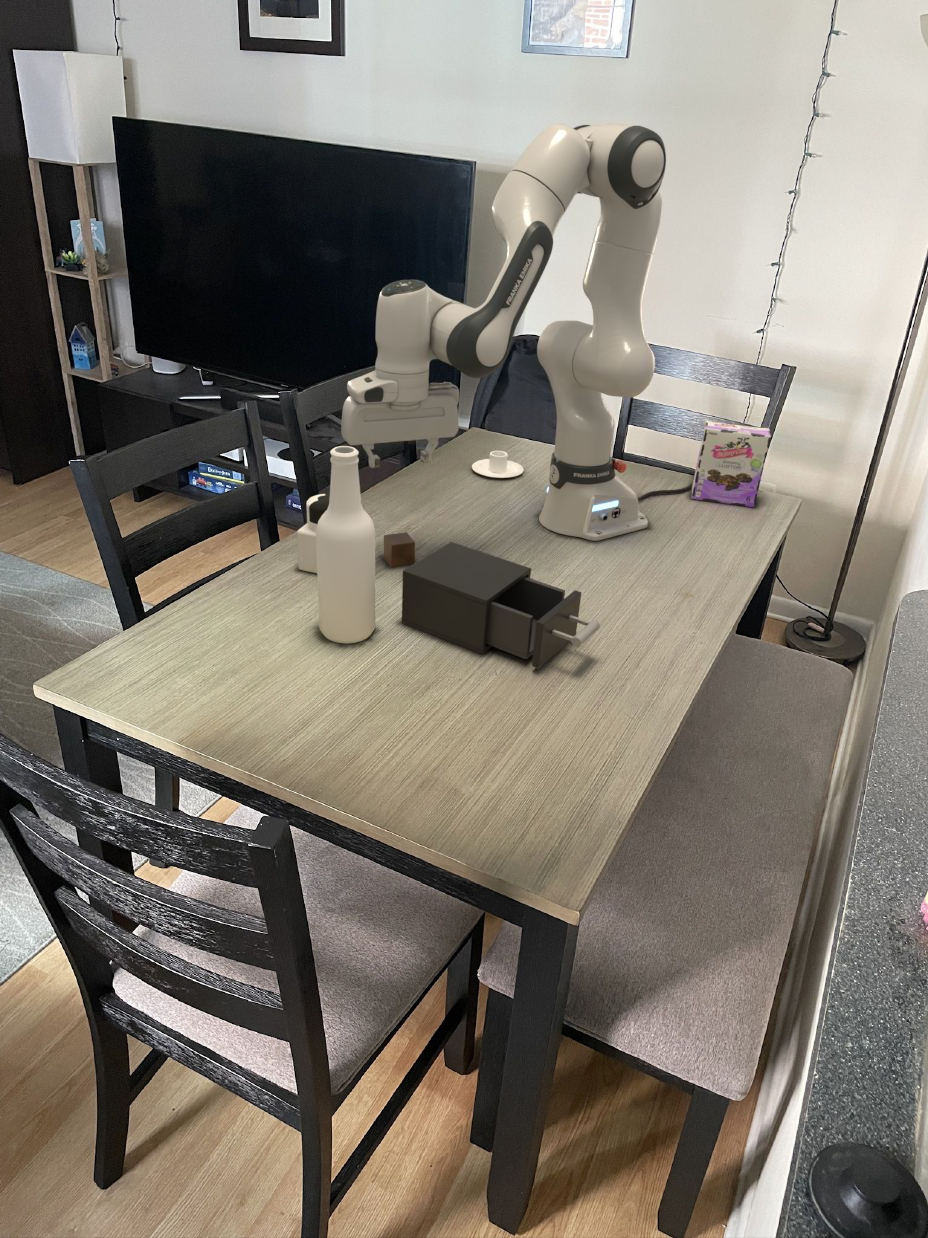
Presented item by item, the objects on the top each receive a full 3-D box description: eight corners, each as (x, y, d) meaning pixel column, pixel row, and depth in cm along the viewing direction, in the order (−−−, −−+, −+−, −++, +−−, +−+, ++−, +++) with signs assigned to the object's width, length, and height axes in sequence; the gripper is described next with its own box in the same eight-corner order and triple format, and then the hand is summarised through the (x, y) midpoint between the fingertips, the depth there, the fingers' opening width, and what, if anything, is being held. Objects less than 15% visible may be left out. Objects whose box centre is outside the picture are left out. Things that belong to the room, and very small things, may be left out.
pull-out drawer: (604, 645, 140) (611, 601, 136) (568, 680, 131) (574, 635, 127) (498, 607, 149) (502, 565, 145) (457, 637, 140) (460, 594, 136)
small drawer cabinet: (526, 619, 148) (531, 568, 143) (482, 654, 138) (486, 600, 133) (448, 591, 155) (450, 541, 150) (401, 622, 145) (402, 570, 140)
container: (355, 560, 163) (355, 494, 157) (337, 578, 157) (335, 510, 150) (317, 552, 165) (315, 487, 159) (297, 570, 159) (294, 502, 152)
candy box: (690, 499, 197) (704, 427, 189) (691, 489, 202) (704, 419, 194) (754, 508, 195) (771, 435, 187) (753, 498, 200) (770, 427, 192)
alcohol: (385, 636, 141) (386, 455, 126) (334, 650, 137) (329, 464, 121) (359, 612, 147) (358, 436, 132) (310, 624, 143) (302, 444, 128)
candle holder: (474, 459, 212) (475, 442, 210) (524, 464, 211) (526, 446, 209) (469, 478, 202) (470, 459, 199) (522, 482, 201) (523, 464, 199)
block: (406, 554, 167) (406, 532, 164) (414, 564, 163) (415, 542, 161) (383, 557, 165) (383, 534, 163) (391, 567, 161) (391, 545, 159)
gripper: (452, 376, 154) (448, 452, 161) (337, 382, 146) (338, 462, 153) (466, 386, 149) (462, 465, 156) (348, 393, 142) (349, 475, 148)
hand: (400, 464), depth 155 cm, fingers open, 8 cm apart
